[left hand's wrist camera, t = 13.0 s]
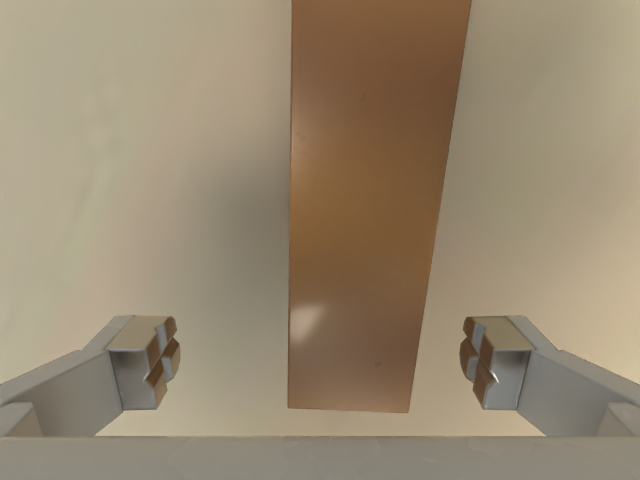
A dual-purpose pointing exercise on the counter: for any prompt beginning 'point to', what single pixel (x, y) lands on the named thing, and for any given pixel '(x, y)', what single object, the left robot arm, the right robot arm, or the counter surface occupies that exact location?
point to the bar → (366, 191)
